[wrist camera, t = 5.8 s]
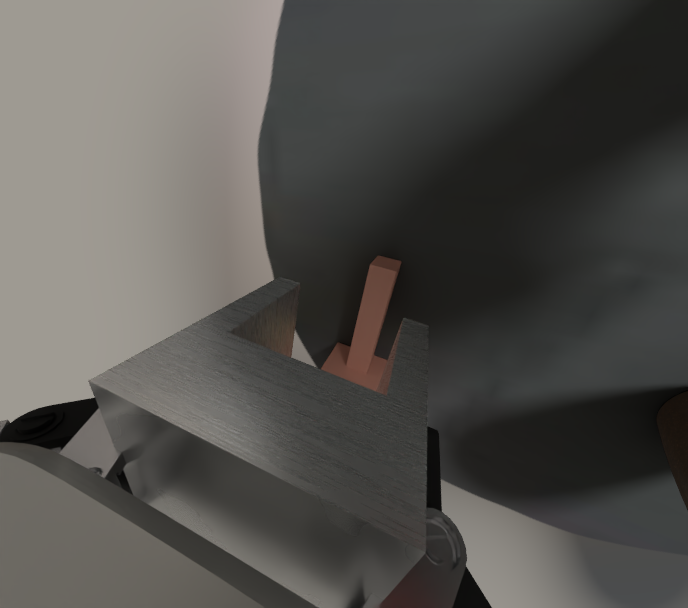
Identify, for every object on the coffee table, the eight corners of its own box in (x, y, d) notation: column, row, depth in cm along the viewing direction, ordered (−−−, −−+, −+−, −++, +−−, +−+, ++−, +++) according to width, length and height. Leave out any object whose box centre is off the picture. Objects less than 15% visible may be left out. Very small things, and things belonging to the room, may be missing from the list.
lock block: (280, 276, 11) (88, 380, 5) (428, 325, 10) (425, 553, 3) (270, 387, 14) (149, 535, 8) (380, 435, 13) (336, 653, 7)
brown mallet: (356, 249, 25) (300, 290, 15) (425, 267, 23) (416, 328, 13) (332, 370, 33) (284, 452, 22) (382, 389, 31) (355, 487, 21)
